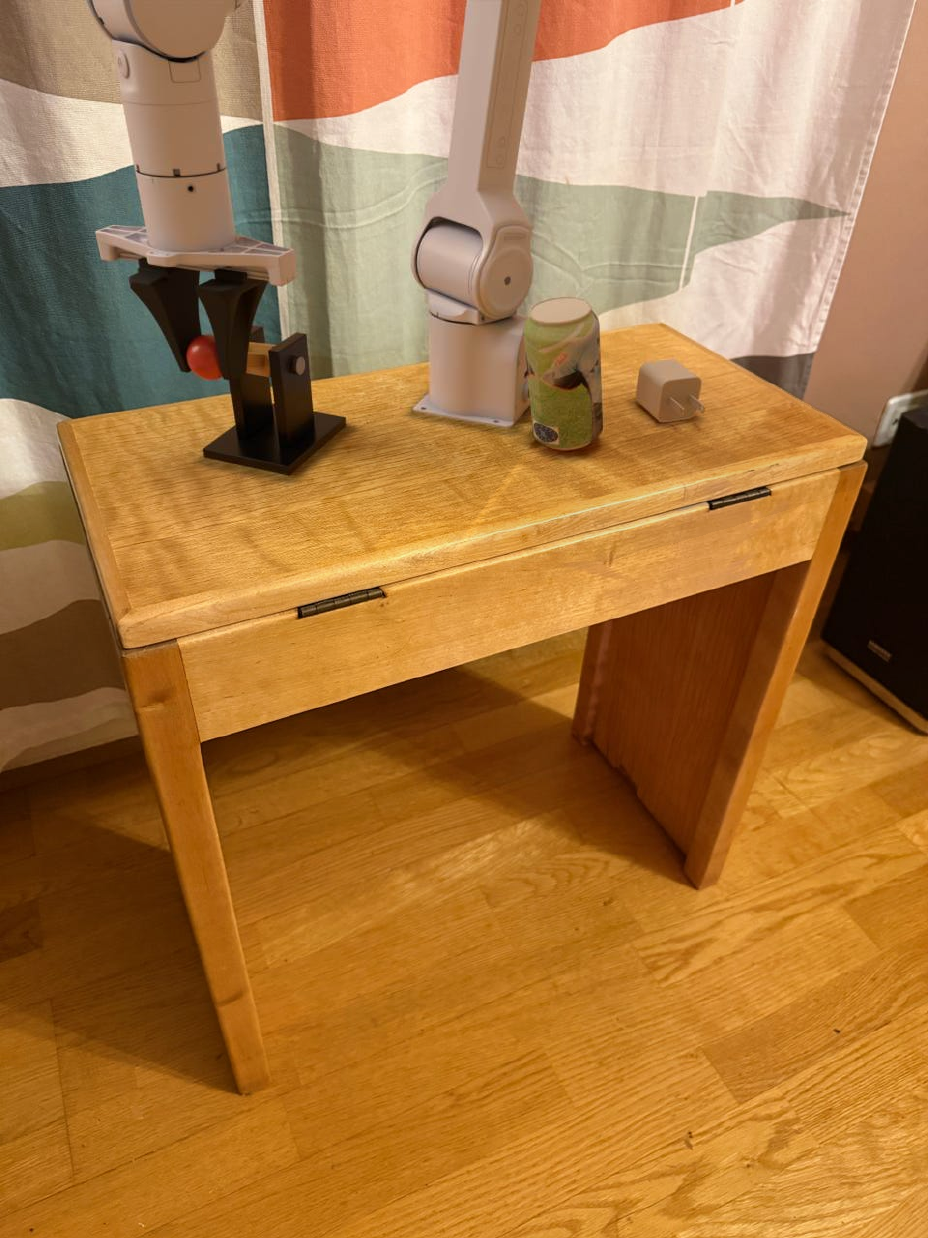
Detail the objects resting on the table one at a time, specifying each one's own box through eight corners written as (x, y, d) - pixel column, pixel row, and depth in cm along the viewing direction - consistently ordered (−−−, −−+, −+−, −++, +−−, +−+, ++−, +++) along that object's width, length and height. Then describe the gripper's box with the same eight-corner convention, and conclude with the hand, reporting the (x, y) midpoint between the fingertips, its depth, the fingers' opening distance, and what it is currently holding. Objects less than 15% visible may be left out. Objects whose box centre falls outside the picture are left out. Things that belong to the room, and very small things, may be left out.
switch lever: (214, 383, 65) (217, 336, 64) (176, 376, 65) (178, 329, 65) (292, 383, 75) (296, 343, 74) (258, 377, 76) (261, 337, 75)
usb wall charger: (672, 399, 87) (679, 358, 84) (710, 429, 82) (718, 387, 79) (634, 403, 86) (640, 362, 83) (669, 435, 80) (677, 392, 78)
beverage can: (615, 446, 79) (633, 306, 71) (547, 467, 75) (558, 322, 68) (570, 419, 83) (582, 284, 76) (503, 437, 80) (510, 299, 72)
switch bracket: (289, 480, 73) (277, 368, 67) (204, 461, 75) (185, 352, 70) (347, 429, 80) (339, 324, 75) (267, 414, 83) (255, 311, 77)
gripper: (46, 169, 58) (95, 375, 66) (245, 192, 54) (271, 408, 62) (118, 149, 63) (155, 342, 71) (304, 169, 59) (321, 371, 67)
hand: (213, 371), depth 67 cm, fingers closed on switch lever, 3 cm apart
